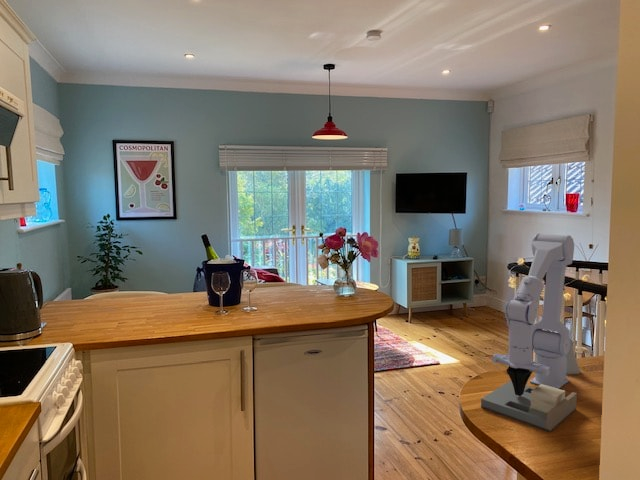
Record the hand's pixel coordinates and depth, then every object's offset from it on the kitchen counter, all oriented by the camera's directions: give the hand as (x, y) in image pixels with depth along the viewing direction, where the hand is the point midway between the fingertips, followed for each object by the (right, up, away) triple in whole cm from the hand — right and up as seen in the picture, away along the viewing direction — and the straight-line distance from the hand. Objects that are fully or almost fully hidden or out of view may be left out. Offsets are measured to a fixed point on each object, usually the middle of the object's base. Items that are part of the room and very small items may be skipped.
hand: (519, 394), depth 127 cm
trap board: (+2, -3, -1) cm, 4 cm away
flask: (+24, 0, +22) cm, 33 cm away
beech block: (+5, -1, -5) cm, 7 cm away
